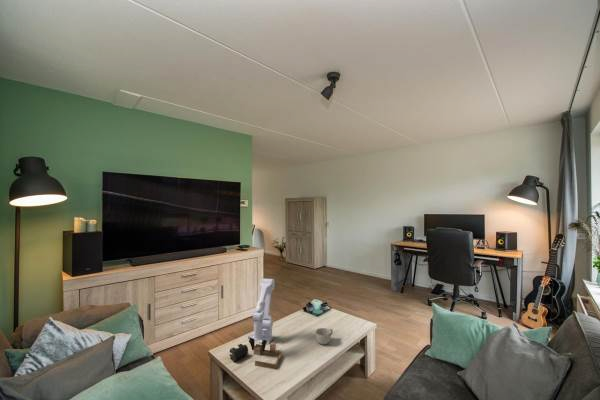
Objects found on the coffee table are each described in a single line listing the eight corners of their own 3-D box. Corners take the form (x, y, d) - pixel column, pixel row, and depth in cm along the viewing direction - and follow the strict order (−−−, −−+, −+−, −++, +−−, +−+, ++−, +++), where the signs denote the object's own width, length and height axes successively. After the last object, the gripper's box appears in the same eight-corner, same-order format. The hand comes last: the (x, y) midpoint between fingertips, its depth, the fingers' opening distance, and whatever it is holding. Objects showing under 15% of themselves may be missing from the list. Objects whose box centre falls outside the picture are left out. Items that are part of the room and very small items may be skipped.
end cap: (235, 363, 159) (235, 353, 159) (229, 359, 164) (229, 348, 164) (248, 356, 167) (248, 346, 167) (241, 352, 172) (241, 342, 172)
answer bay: (263, 353, 170) (263, 349, 170) (282, 356, 167) (282, 352, 167) (254, 365, 158) (254, 361, 158) (275, 369, 154) (275, 365, 154)
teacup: (319, 347, 176) (319, 336, 176) (312, 339, 187) (313, 328, 186) (337, 343, 182) (337, 332, 182) (329, 336, 192) (329, 325, 192)
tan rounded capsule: (271, 349, 175) (271, 342, 175) (276, 350, 174) (276, 343, 174) (269, 352, 171) (269, 345, 171) (274, 353, 170) (274, 346, 170)
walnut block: (256, 350, 173) (256, 343, 173) (262, 351, 172) (262, 344, 172) (253, 354, 169) (253, 347, 169) (259, 355, 168) (259, 348, 168)
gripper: (245, 331, 169) (245, 352, 168) (266, 334, 165) (266, 355, 165) (250, 326, 175) (250, 346, 175) (270, 329, 172) (270, 349, 172)
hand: (258, 350), depth 170 cm, fingers open, 7 cm apart
